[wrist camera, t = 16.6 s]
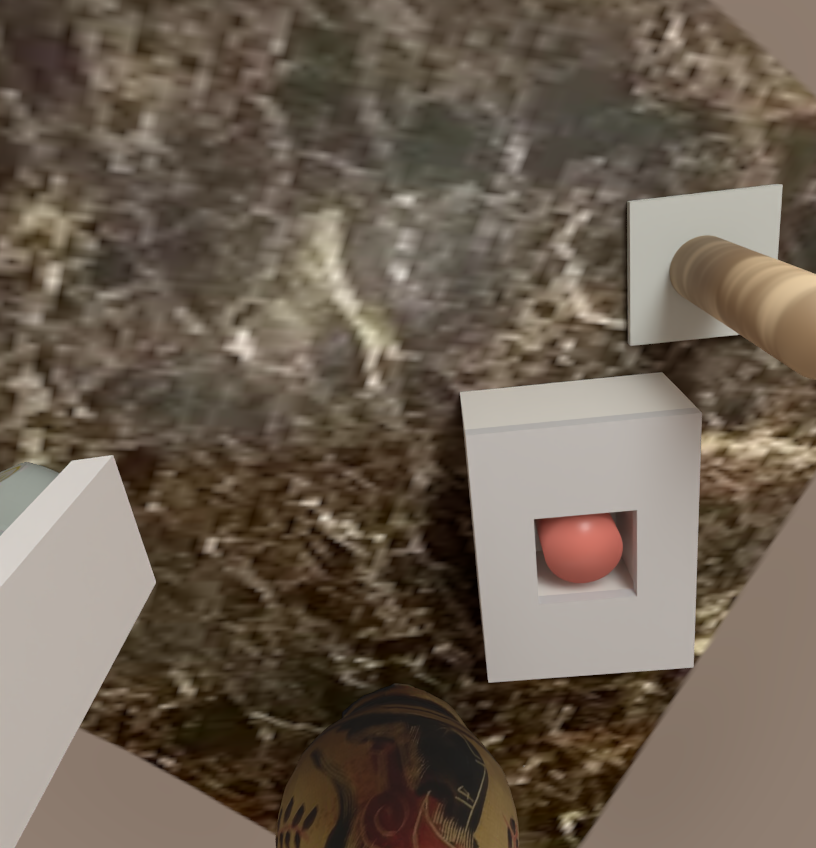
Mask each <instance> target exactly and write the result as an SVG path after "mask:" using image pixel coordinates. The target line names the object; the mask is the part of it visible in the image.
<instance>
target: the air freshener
mask: <svg viewBox="0 0 816 848" xmlns="http://www.w3.org/2000/svg"><path fill="white" fill-rule="evenodd" d="M59 474H60V473H58V472H56V471H53V470H51V469H48V468H46V467H44V466H40V465H36V464H33V463H29V462H25V463H21V464H18V465H16V466H13V467H11V468H9V469H7V470H5V471H2V472H0V536H1V535H2V534H3V532H4V531H5V530H6V529H7V528H8V527H9V526H10V525H11V524H12V523H13V522H14V521H15V520H16V519H17V518H18V517H19V516H20V515H21V514H22V513H23V512H24V511H25V509H26V508H27V507H28V506H29V505H30V504H31V503H32V502H33V501H34V500H35V499H36V498H37V497H38V496H39V495H40V494H41V493H42V492H43V491H44V490H45V489H46V487H47V486H48V485H49V484H50V483H51V482H52V481H53V480H54V479H55V478H56V477H57V476H58V475H59Z"/></svg>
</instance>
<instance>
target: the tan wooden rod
mask: <svg viewBox="0 0 816 848" xmlns="http://www.w3.org/2000/svg"><path fill="white" fill-rule="evenodd" d="M669 273H670V281H671V283H672V286H673V288H674V289H675V290H676V292H677V293H678V294H680V295H681V296H682V297H684V298H685V299H687V300H688V301H690V302H691V303H693V304H694V305H696V306H697V307H699V308H700V309H702V310H703V311H705V312H706V313H708V314H709V315H711V316H712V317H714V318H716V319H717V320H719V321H720V322H722V323H723V324H725V325H726V326H728V327H729V328H731V329H732V330H734V331H735V332H737V333H738V334H740V335H741V336H743V337H744V338H746V339H747V340H749V341H750V342H752V343H753V344H755V345H756V346H758V347H759V348H761V349H762V350H764V351H765V352H767V353H768V354H770V355H771V356H773V357H774V358H776V359H778V360H779V361H781V362H782V363H784V364H785V365H787V366H788V367H790V368H791V369H793V370H794V371H796V372H797V373H799V374H800V375H802V376H804V377H807V378H810V379H815V380H816V274H814V273H811V272H808V271H806V270H803V269H800V268H798V267H795V266H792V265H790V264H787V263H785V262H782V261H779V260H777V259H774V258H771V257H769V256H766V255H763V254H761V253H758V252H756V251H753V250H750V249H748V248H745V247H742V246H740V245H737V244H734V243H732V242H729V241H727V240H724V239H721V238H719V237H716V236H710V235H704V236H698V237H695V238H693V239H691V240H689V241H687V242H686V243H685V244H683V245H682V246H681V247H680V248H679V249H678V251H677V252H676V253H675V255H674V257H673V259H672V261H671V265H670V272H669Z"/></svg>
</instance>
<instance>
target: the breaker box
mask: <svg viewBox="0 0 816 848" xmlns="http://www.w3.org/2000/svg"><path fill="white" fill-rule="evenodd" d="M460 399H461V410H462V420H463V431H464V442H465V452H466V463H467V474H468V484H469V495H470V506H471V517H472V527H473V538H474V549H475V559H476V570H477V581H478V592H479V602H480V613H481V622H482V631H483V640H484V649H485V657H486V666H487V675H488V683H491V682H504V681H518V680H531V679H544V678H558V677H571V676H584V675H598V674H611V673H624V672H638V671H651V670H664V669H677V668H691V667H694V638H695V608H696V577H697V547H698V517H699V487H700V457H701V426H702V412H701V411H700V410H699V409H698V408H697V407H696V406H695V405H694V404H693V403H692V402H691V401H690V400H689V399H688V398H687V397H686V396H685V395H684V394H683V393H682V392H681V391H680V390H679V389H678V388H677V387H676V386H675V385H674V384H673V383H672V382H671V381H670V380H669V379H668V378H667V377H666V376H665V375H664V373H663V372H659V373H649V374H639V375H629V376H619V377H609V378H599V379H589V380H579V381H569V382H559V383H549V384H539V385H529V386H519V387H509V388H499V389H489V390H479V391H469V392H460ZM598 513H610V515H611V517H612V519H613V521H614V523H615V525H616V527H617V529H618V531H619V533H620V536H621V538H622V542H623V551H622V556H621V558H620V561H619V562H618V564H617V565H616V567H615V568H614V569H613V570H612V571H611V572H610V573H609V574H607V575H606V576H604V577H603V578H601V579H599V580H596V581H593V582H588V583H573V582H569V581H566V580H563V579H561V578H559V577H558V576H556V575H555V574H554V573H553V572H552V571H551V570H550V569H549V567H548V565H547V563H546V561H545V557H544V554H543V550H542V547H541V543H540V539H539V536H538V532H537V529H536V525H535V521H534V519H542V518H553V517H564V516H576V515H587V514H598Z"/></svg>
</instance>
